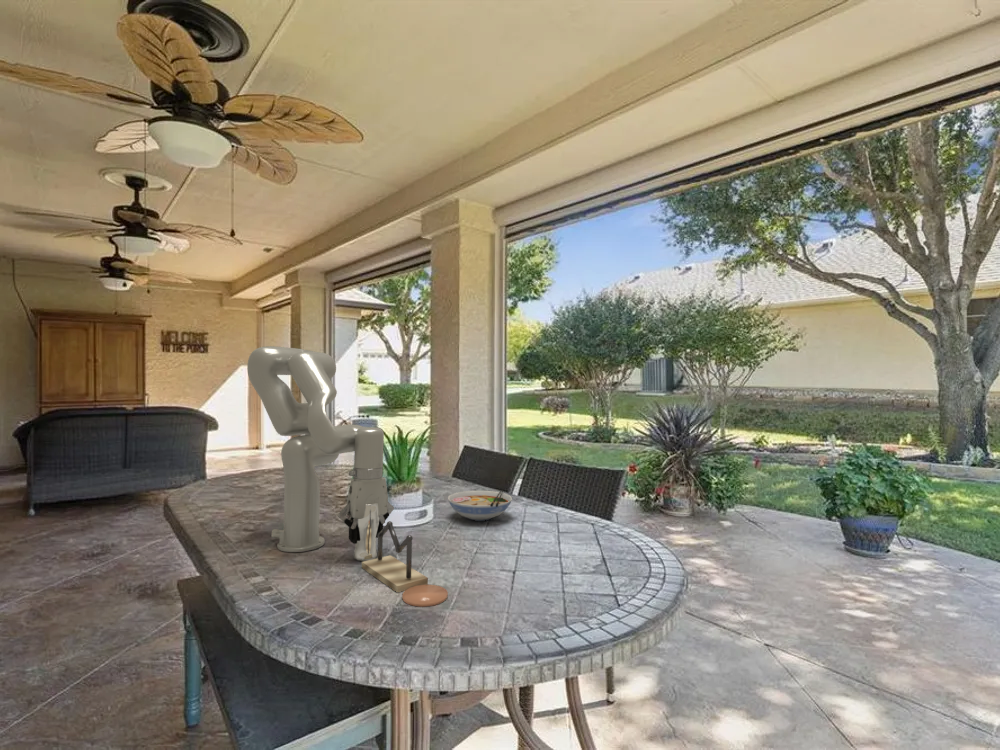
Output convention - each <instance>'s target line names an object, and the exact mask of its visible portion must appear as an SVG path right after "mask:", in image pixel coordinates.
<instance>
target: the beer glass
mask: <svg viewBox="0 0 1000 750" xmlns="http://www.w3.org/2000/svg"><path fill="white" fill-rule="evenodd" d="M365 505H366V506H365V507H366V509H365V515H364V518H362V519H358V523H357V525H356V528H357V529H358V532H357V543H356V544H355V548H354V553H353V559H354V560H356V561H361V562H364V561H368V560H372V559H377V558H378V551H377V544H376V543H377V539H378V538H377V533H378V528H379V522H380V516H379V515H378V505H377V503H373V504H365ZM353 519H354V518H353Z"/></svg>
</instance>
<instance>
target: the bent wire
mask: <svg viewBox="0 0 1000 750" xmlns="http://www.w3.org/2000/svg"><path fill="white" fill-rule="evenodd" d="M388 531H389V534H390V536H391V539H392V542H393V545H394V547H395V552H396V553H397V554H400V553H402V552H403V549H405V548H406V555H405V556H406V557H405V558H406V562H405V564H406V578H411V568H412V558H413V557H412V555H413V553H412V552H413V547H412V546H413V538H414V537H413V535H410V534H408V535H407V536H406V537H405V538H404V540H403V541H402V542H401V543H400V542H399V539H398V536H397V534H396V530H395V528H394V523H393V521H387V523H386V524H385V526H383V529H382V530H381V532H380V533H378V535H377V537H378V538H377V558H378V560H382V557H383V550H384V549H383V545H384V543H383V541H384V540H383V538H384V535H385V534H386V533H387V532H388Z"/></svg>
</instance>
